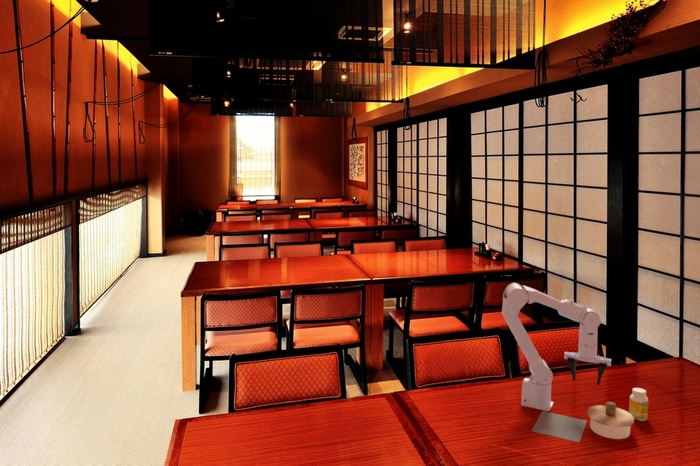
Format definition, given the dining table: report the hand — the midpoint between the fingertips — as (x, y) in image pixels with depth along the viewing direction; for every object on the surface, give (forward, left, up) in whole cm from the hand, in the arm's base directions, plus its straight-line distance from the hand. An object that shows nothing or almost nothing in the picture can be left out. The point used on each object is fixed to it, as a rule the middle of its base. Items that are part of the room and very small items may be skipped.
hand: (586, 381), depth 179 cm
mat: (-5, -19, -9) cm, 22 cm away
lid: (+9, -14, -5) cm, 17 cm away
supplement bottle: (+16, +1, -10) cm, 19 cm away
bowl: (+9, -14, -10) cm, 19 cm away
